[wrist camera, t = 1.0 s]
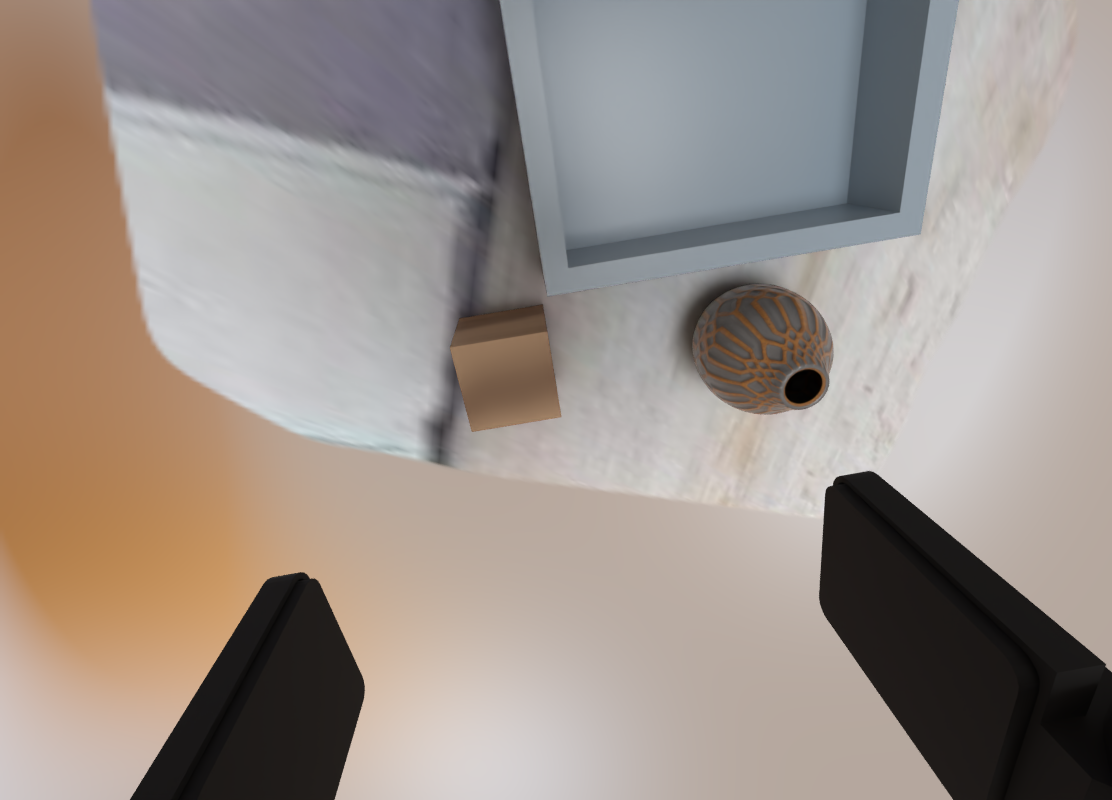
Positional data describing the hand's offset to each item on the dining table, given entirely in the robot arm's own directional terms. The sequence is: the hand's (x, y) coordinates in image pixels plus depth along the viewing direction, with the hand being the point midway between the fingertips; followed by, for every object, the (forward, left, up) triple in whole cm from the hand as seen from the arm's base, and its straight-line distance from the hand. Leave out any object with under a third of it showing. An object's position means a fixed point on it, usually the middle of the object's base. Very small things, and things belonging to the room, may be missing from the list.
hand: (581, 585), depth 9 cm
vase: (+5, +12, -23) cm, 26 cm away
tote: (-8, +10, -23) cm, 26 cm away
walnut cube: (+4, -2, -23) cm, 23 cm away
